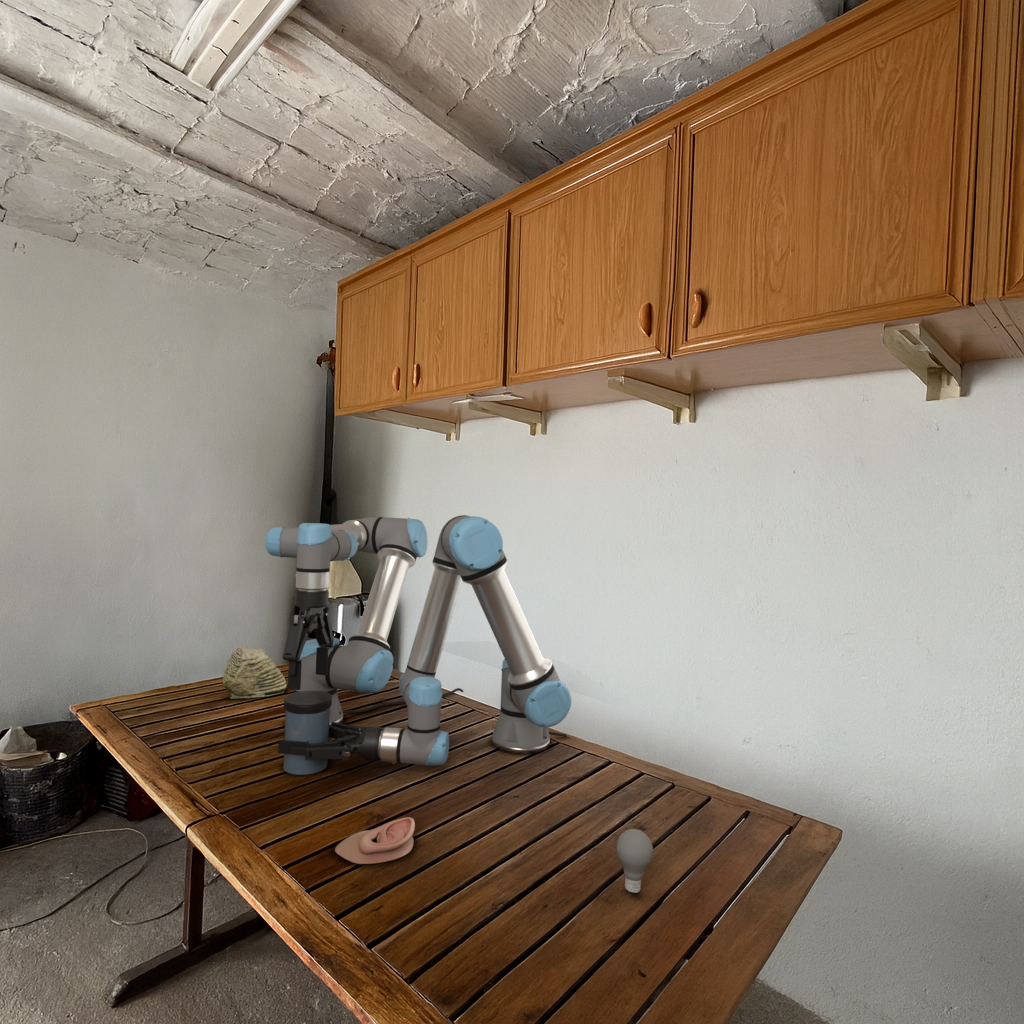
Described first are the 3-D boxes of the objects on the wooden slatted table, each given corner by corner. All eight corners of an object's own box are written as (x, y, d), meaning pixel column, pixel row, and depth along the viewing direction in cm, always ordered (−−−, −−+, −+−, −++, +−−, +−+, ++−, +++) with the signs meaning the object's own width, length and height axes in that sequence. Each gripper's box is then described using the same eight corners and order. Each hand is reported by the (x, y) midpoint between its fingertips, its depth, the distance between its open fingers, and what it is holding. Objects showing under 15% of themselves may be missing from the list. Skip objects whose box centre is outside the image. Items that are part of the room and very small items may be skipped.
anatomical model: (327, 836, 111) (356, 806, 122) (326, 858, 111) (355, 826, 122) (398, 848, 108) (421, 815, 119) (397, 871, 108) (420, 836, 119)
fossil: (218, 695, 195) (220, 647, 195) (278, 685, 208) (279, 640, 207) (228, 703, 189) (230, 653, 188) (289, 692, 201) (290, 645, 201)
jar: (320, 775, 144) (322, 707, 143) (276, 773, 144) (279, 705, 143) (333, 758, 154) (335, 693, 153) (292, 756, 154) (294, 691, 153)
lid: (323, 714, 143) (323, 705, 143) (276, 712, 143) (276, 703, 143) (337, 699, 154) (337, 691, 154) (293, 697, 154) (293, 689, 154)
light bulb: (610, 879, 108) (613, 822, 108) (644, 879, 109) (647, 822, 109) (619, 902, 102) (622, 840, 102) (655, 901, 103) (658, 840, 103)
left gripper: (322, 582, 160) (318, 667, 161) (268, 594, 137) (264, 694, 137) (350, 584, 159) (346, 670, 159) (300, 597, 135) (295, 698, 135)
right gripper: (366, 781, 136) (266, 774, 138) (393, 742, 159) (307, 735, 160) (368, 747, 136) (267, 739, 137) (394, 712, 159) (308, 706, 160)
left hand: (308, 681), depth 148 cm, fingers open, 12 cm apart
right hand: (289, 737), depth 149 cm, fingers closed on jar, 10 cm apart
